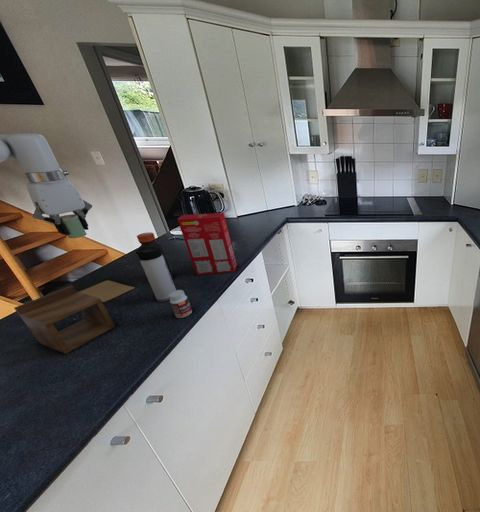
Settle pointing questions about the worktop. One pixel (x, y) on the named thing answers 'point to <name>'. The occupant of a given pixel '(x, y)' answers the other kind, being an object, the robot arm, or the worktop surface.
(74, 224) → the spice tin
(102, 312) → the shelf unit
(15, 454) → the worktop surface
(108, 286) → the cork mat
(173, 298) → the pill bottle
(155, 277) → the travel mug
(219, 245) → the food packaging
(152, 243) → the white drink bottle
